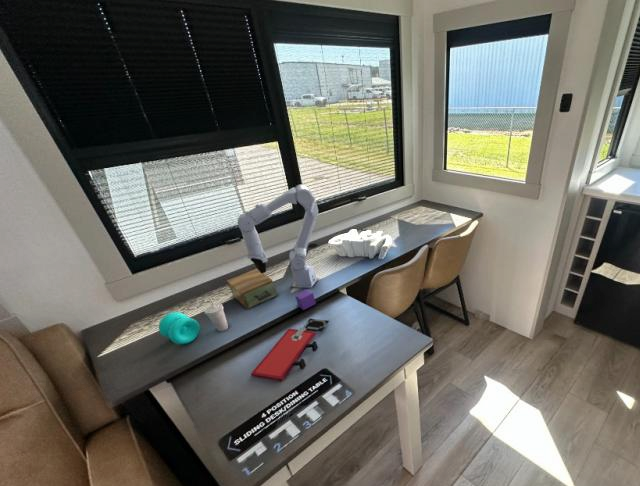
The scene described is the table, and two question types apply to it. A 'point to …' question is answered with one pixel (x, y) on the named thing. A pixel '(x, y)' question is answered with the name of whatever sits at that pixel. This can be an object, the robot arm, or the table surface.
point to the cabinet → (247, 284)
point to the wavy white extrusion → (361, 244)
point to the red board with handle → (289, 351)
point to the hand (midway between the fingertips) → (263, 272)
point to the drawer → (260, 294)
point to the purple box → (305, 299)
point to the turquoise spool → (179, 328)
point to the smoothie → (217, 315)
